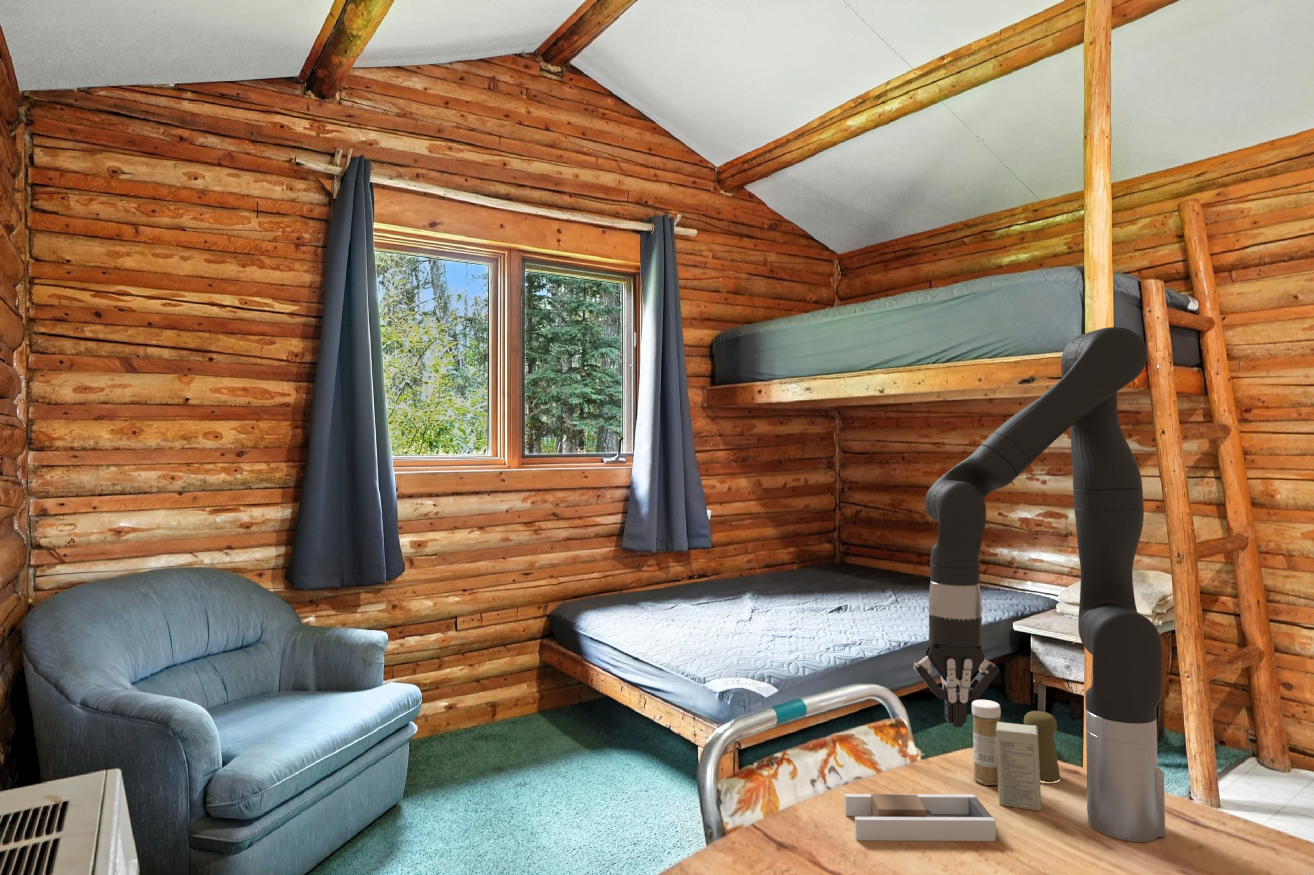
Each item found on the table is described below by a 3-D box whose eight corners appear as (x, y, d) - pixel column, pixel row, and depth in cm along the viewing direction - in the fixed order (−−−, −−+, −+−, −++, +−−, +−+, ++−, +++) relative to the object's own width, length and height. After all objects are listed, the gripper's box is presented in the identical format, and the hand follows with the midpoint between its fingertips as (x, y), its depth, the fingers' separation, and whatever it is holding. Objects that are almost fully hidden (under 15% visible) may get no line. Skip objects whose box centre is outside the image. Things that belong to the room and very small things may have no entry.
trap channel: (974, 813, 122) (973, 794, 122) (995, 841, 114) (995, 820, 114) (844, 812, 123) (844, 793, 123) (856, 840, 115) (856, 819, 115)
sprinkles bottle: (1006, 781, 134) (1004, 702, 134) (995, 789, 131) (993, 709, 131) (979, 773, 137) (978, 696, 137) (968, 781, 134) (967, 703, 134)
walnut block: (917, 820, 121) (916, 794, 121) (926, 836, 116) (925, 809, 116) (871, 819, 121) (871, 793, 121) (878, 835, 116) (878, 808, 116)
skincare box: (1040, 800, 126) (1039, 725, 126) (1041, 812, 122) (1040, 734, 123) (997, 793, 129) (996, 719, 129) (996, 804, 125) (995, 728, 125)
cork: (1065, 785, 132) (1064, 720, 132) (1027, 782, 133) (1026, 718, 133) (1054, 770, 138) (1053, 708, 138) (1018, 768, 139) (1017, 706, 139)
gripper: (989, 606, 122) (990, 717, 122) (904, 606, 123) (904, 716, 122) (1009, 617, 115) (1010, 735, 114) (918, 616, 115) (918, 734, 115)
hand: (955, 725), depth 118 cm, fingers closed
